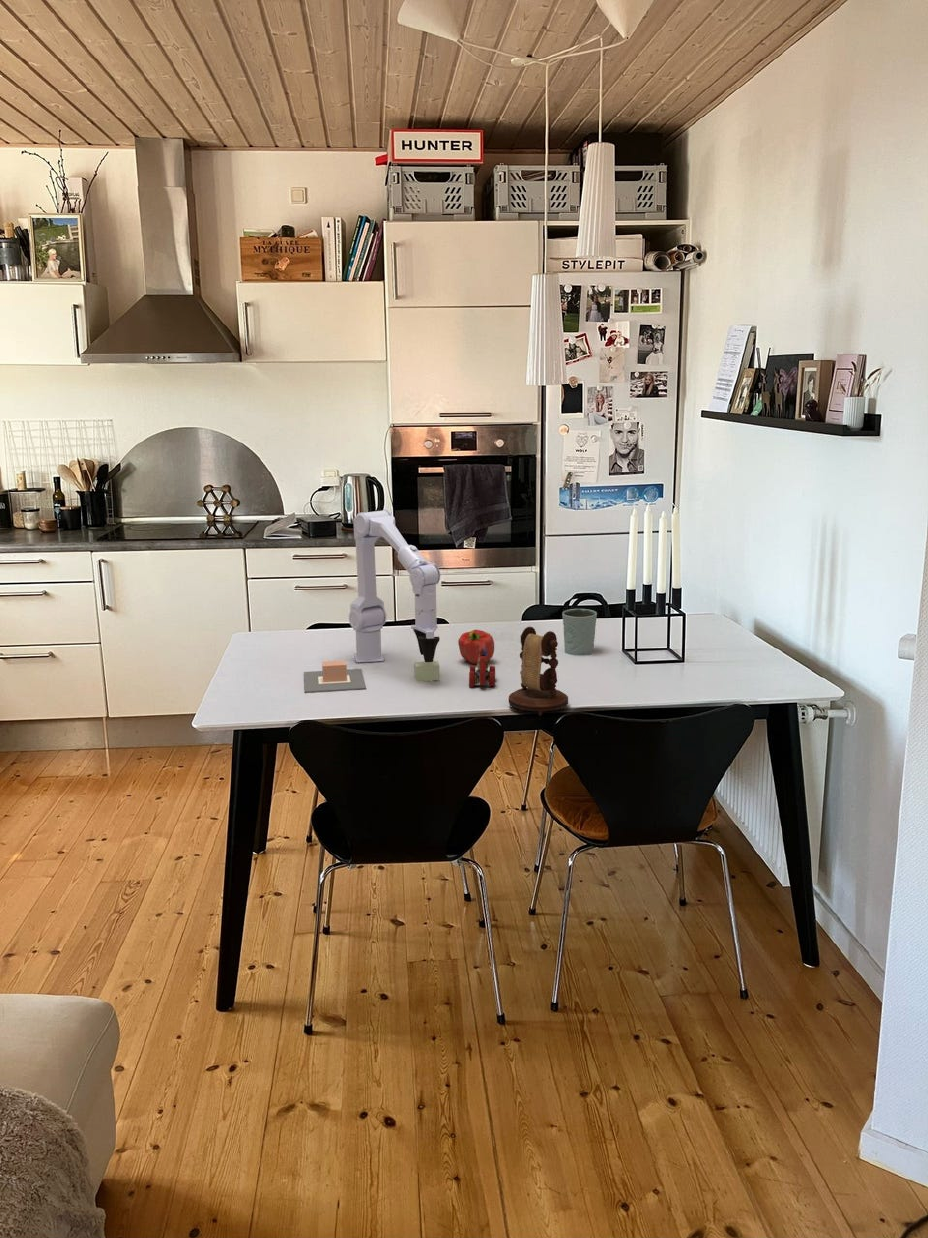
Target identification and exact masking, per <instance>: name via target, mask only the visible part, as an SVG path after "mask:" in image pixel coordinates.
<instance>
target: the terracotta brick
mask: <svg viewBox="0 0 928 1238" xmlns="http://www.w3.org/2000/svg"><path fill="white" fill-rule="evenodd" d="M347 668H348V667H347V661H346V660H333V661H332V660H331V661H327V660H326V661H321V671H322V674H323V682H337V681H347Z"/></svg>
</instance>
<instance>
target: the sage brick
mask: <svg viewBox="0 0 928 1238" xmlns="http://www.w3.org/2000/svg"><path fill="white" fill-rule="evenodd" d="M413 669H414V671H413V672H414V674H413V675H414V680H415V682H416V681H425V682H432V681H431V680H440V663H439V660H433V662H425V660H423V661H413Z"/></svg>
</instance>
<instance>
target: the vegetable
mask: <svg viewBox="0 0 928 1238" xmlns="http://www.w3.org/2000/svg"><path fill="white" fill-rule="evenodd" d="M480 642H486V650H487V655H486V660H487V663H488V662H489V661H490V660H491V659H492V658H493V656H494V653H495V641H494V638H493V636H492V635H491V633H488V632H486V631H484V630H481V629H472V630H471V631H465V632H464V633H462V634H461V635H460V637H459V638H458V641H457V643H458V648H459V652H460V655H461V657H462V658H463V660H465V661H466V662H469V663H470V664H473V665H477V664H478V659H479V657H480Z"/></svg>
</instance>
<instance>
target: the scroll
mask: <svg viewBox="0 0 928 1238" xmlns="http://www.w3.org/2000/svg"><path fill="white" fill-rule="evenodd" d="M520 645H521V648H520V649H521V652H520V654H519V657H520V659H521V666H520V668H521V669H520V681H521V682H520V687H521V688H518V689H515V691H513V692H511V693H510V694H509V695H508V704H509V707H510V706H513V707H514V708H516V709H519V710H522V711H530V712H537V715H538V716H539V717H541V716H542V715H543V712H549V711H550V712H551V711H556V710H560V709H562V708H566V707H567V706H568V704H569V696H568V695H567V694H566V693H564V692H563V691H561V690H559V689H556V687H557V683H558V677H557V670H556V669H557V667H558V665H559V660H558V659H557V656H558V655H557V654H558V653H557V652H556V651H557V650H558V648H557V647H558V645H559V644H558V639H557V635H556V633H555V632H554V631H551V630H549V631H547V632H545V633H544V635H539V634H537V631H536V629H535V628H534V627H532V626H527V627H525V628H524V629H523V631H522V633H521V635H520ZM548 657H550V658H548ZM542 663H544V664H545V665H549V666H550V667H548V668H547V669H545V670H544V671H543V673H541V671H542ZM513 707H512V708H513Z"/></svg>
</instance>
